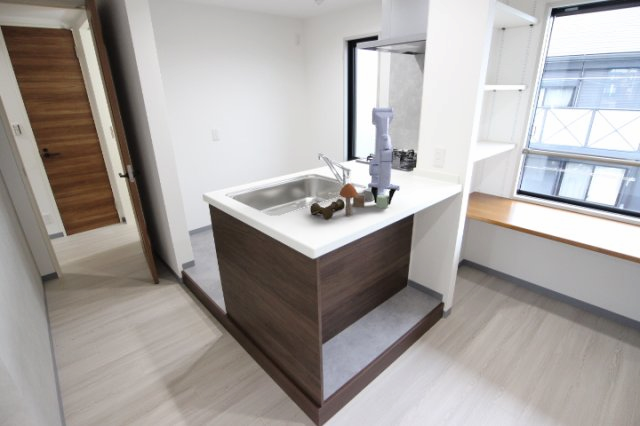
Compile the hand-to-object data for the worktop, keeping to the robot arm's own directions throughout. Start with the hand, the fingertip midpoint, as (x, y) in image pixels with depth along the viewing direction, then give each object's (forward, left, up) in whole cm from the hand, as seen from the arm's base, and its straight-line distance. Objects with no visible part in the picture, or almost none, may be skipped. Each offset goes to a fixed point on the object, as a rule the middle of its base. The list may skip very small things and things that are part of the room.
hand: (382, 203), depth 153 cm
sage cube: (0, 0, -2) cm, 2 cm away
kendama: (+19, -21, -2) cm, 29 cm away
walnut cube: (+3, -11, -2) cm, 12 cm away
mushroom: (+17, -12, -2) cm, 21 cm away
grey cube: (-8, -8, -2) cm, 11 cm away
